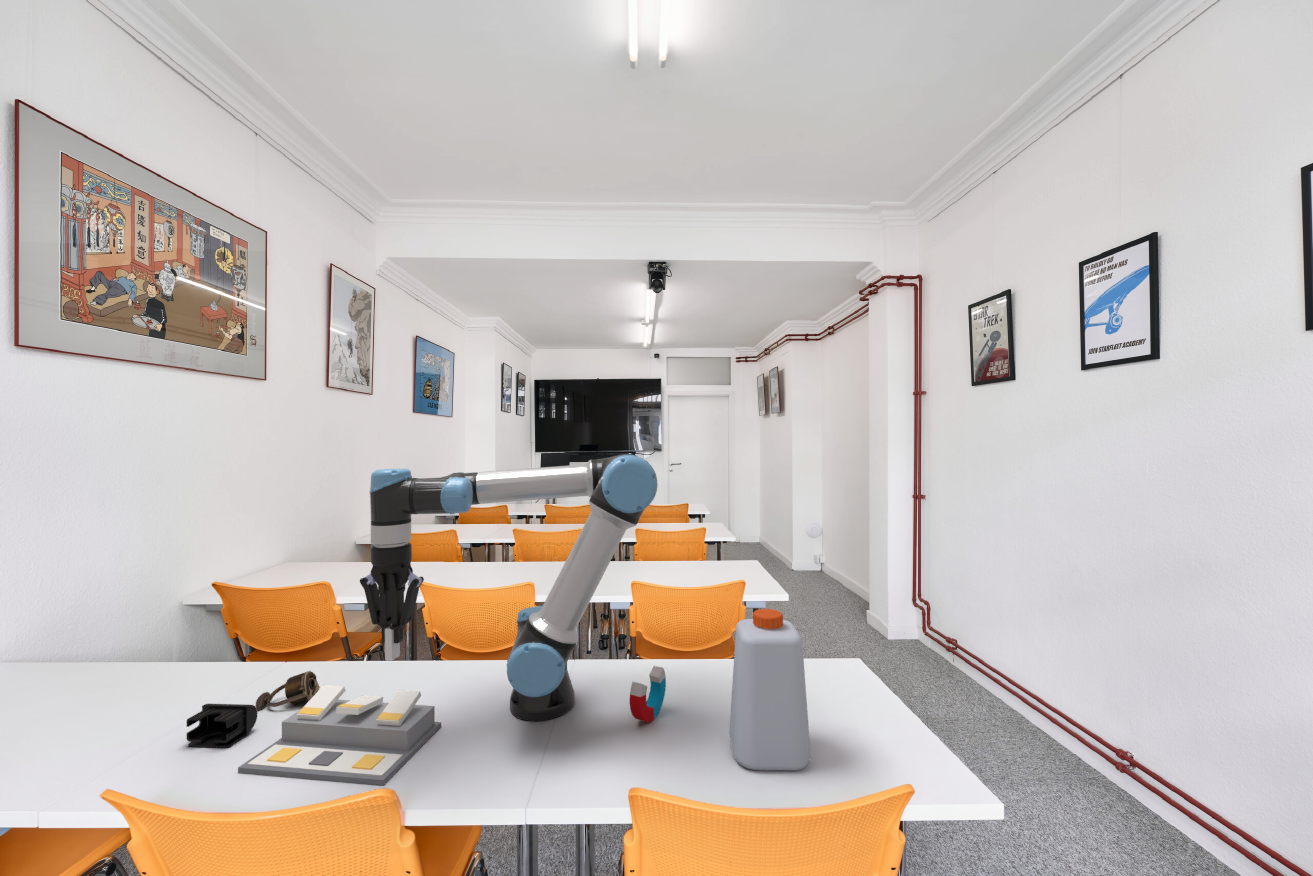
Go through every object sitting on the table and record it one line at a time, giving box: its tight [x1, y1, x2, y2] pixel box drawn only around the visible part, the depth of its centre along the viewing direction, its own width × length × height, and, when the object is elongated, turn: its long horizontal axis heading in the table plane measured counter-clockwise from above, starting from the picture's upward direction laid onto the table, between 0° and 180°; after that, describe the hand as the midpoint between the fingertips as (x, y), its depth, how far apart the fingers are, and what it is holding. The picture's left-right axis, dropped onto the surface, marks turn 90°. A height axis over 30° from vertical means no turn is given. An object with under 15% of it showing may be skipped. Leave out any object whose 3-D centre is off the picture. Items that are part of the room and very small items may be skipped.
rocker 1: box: [297, 684, 346, 720], centre depth 114 cm, size 5×8×1 cm, turn 173°
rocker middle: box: [336, 695, 384, 715], centre depth 113 cm, size 5×8×1 cm, turn 173°
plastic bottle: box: [728, 608, 812, 772], centre depth 108 cm, size 15×15×28 cm
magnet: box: [629, 665, 667, 723], centre depth 120 cm, size 12×3×10 cm, turn 150°
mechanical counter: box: [255, 670, 321, 710], centre depth 128 cm, size 7×13×10 cm
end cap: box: [186, 703, 258, 749], centre depth 113 cm, size 10×7×7 cm
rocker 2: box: [376, 689, 422, 726], centre depth 112 cm, size 5×8×1 cm, turn 173°
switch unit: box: [237, 699, 442, 786], centre depth 109 cm, size 30×20×5 cm, turn 83°
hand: (392, 658), depth 109 cm, fingers closed
